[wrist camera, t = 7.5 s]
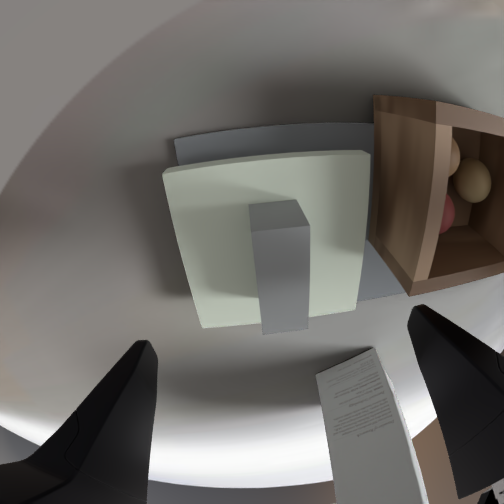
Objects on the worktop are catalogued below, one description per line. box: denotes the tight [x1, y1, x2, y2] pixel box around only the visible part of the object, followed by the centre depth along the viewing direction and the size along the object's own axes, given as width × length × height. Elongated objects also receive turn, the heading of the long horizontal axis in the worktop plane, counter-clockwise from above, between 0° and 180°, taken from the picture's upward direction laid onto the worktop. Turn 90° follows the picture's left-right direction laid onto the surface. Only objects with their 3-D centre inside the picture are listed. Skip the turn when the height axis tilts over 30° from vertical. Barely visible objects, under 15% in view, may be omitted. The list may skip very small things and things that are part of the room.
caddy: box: [368, 95, 504, 297], centre depth 11 cm, size 8×8×5 cm
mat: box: [174, 123, 405, 301], centre depth 15 cm, size 11×16×1 cm
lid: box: [162, 150, 370, 335], centre depth 13 cm, size 9×9×4 cm
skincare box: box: [315, 348, 429, 504], centre depth 17 cm, size 8×6×15 cm
